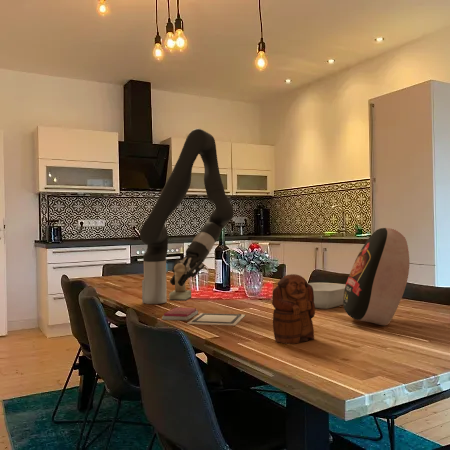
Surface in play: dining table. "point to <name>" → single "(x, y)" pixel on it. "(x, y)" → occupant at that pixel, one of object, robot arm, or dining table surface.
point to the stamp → (179, 291)
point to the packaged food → (378, 278)
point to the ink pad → (180, 314)
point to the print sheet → (217, 319)
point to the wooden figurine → (293, 310)
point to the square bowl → (328, 294)
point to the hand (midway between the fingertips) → (175, 283)
